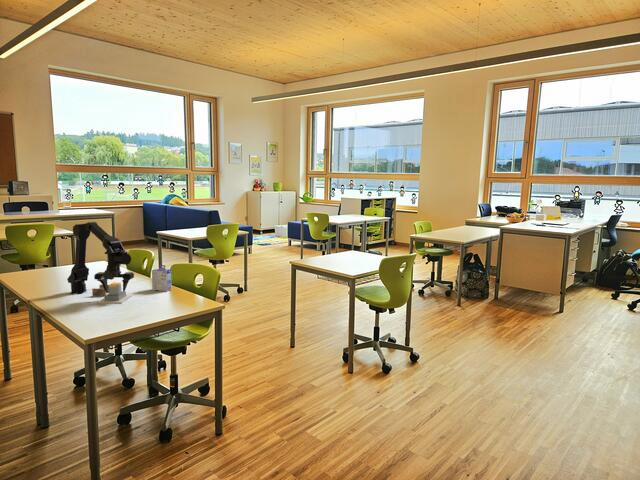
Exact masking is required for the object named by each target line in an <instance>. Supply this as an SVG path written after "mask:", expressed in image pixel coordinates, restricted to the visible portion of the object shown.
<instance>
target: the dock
mask: <svg viewBox="0 0 640 480" xmlns="http://www.w3.org/2000/svg"><path fill="white" fill-rule="evenodd" d="M121 292H122V293H121V294H119V295H118V296H109V293H106V295H105V296H103V298H102V299H101V300H99V301H98V302H97V304H106V305H107V304H109V305H111V304H121V305H122V304H123V303H125V302H126V301H128V300H129V299H130V298H132V297H133V294H127V291H125V292H123V291H121Z"/></svg>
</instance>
